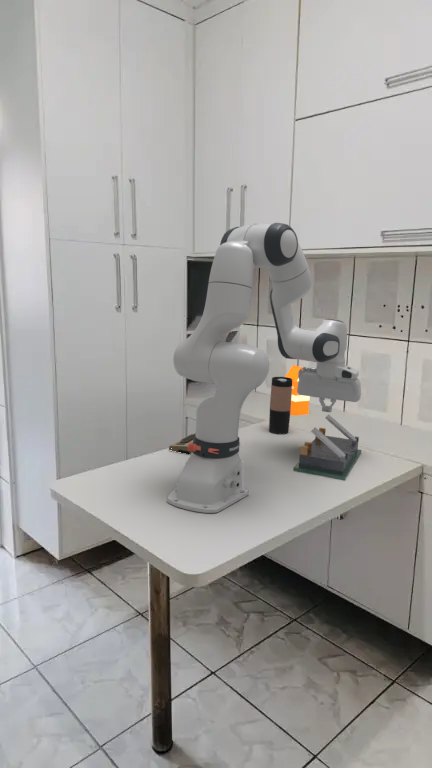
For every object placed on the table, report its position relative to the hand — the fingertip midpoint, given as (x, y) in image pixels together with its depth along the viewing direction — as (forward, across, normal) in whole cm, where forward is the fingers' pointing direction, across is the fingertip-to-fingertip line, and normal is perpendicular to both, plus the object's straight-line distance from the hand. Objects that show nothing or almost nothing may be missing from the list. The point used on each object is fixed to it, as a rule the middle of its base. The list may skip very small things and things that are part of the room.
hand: (326, 411), depth 170 cm
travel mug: (+14, -20, +14) cm, 28 cm away
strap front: (+5, +5, -18) cm, 19 cm away
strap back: (+5, +5, 0) cm, 7 cm away
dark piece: (+14, +4, -9) cm, 17 cm away
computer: (+14, -40, -19) cm, 46 cm away
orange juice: (+14, -23, +46) cm, 53 cm away
